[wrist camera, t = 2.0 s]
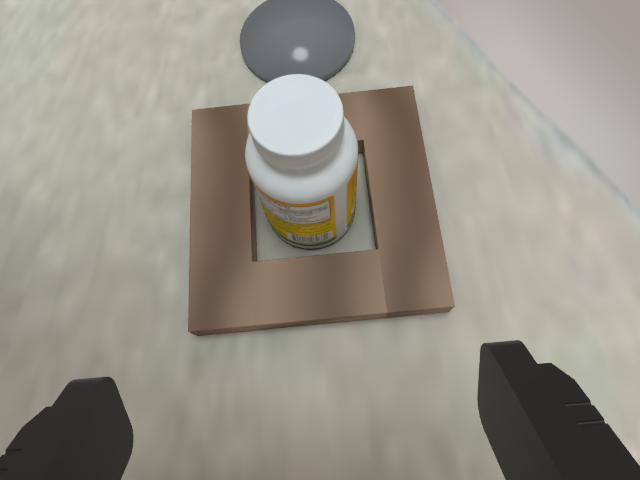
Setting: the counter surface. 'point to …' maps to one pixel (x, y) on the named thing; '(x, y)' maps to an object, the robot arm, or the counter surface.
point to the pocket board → (321, 270)
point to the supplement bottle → (303, 160)
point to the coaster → (297, 39)
